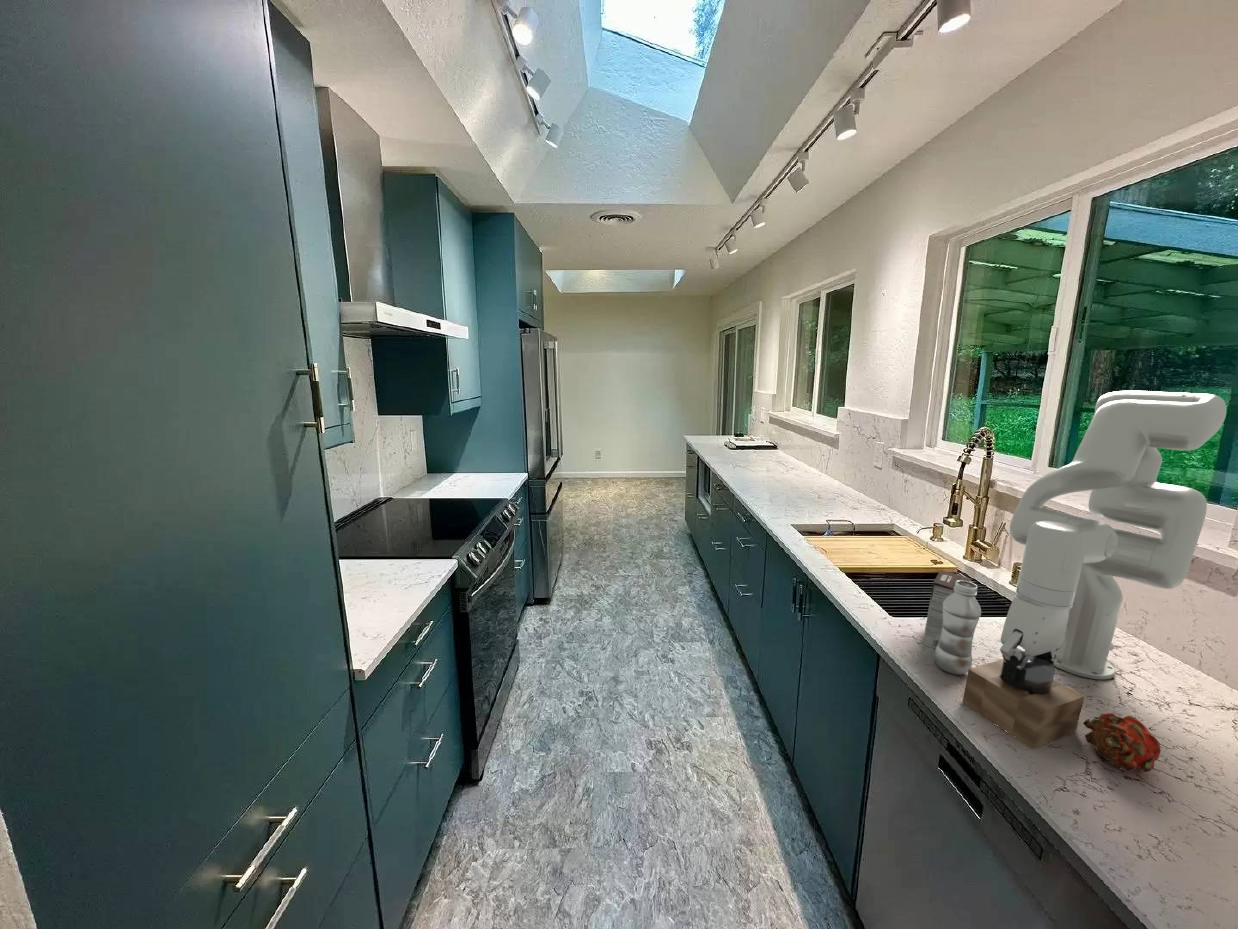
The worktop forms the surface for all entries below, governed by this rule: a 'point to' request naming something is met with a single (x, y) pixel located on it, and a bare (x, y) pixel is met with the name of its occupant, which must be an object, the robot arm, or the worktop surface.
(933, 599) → the coffee box
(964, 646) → the plastic bottle
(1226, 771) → the worktop surface
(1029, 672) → the grey metal cylinder
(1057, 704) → the hitch block
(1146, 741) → the dragon fruit
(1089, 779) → the worktop surface
